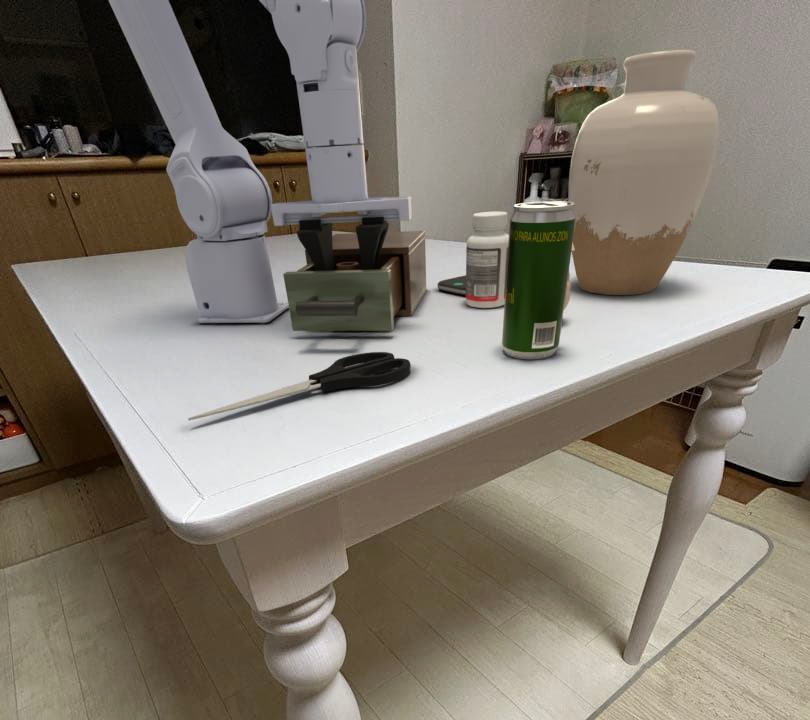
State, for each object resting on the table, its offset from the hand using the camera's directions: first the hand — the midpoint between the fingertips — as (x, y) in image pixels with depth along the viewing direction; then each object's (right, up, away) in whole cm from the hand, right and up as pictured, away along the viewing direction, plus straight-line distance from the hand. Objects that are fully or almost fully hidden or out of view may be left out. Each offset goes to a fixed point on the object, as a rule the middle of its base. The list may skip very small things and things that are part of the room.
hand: (350, 297), depth 58 cm
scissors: (-2, -15, -14) cm, 21 cm away
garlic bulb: (+21, -3, -1) cm, 21 cm away
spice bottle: (0, -1, +1) cm, 1 cm away
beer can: (+18, -9, -8) cm, 22 cm away
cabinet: (+2, +4, +10) cm, 11 cm away
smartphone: (+18, +9, +16) cm, 26 cm away
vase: (+35, +6, +11) cm, 37 cm away
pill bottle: (+17, +2, +7) cm, 18 cm away
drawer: (0, -2, +1) cm, 2 cm away
